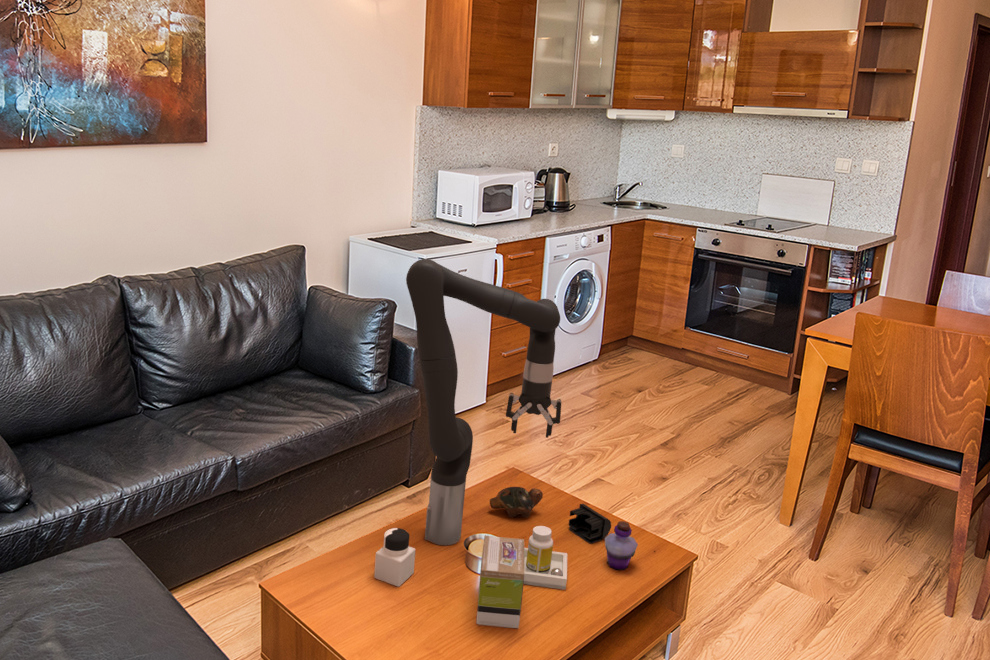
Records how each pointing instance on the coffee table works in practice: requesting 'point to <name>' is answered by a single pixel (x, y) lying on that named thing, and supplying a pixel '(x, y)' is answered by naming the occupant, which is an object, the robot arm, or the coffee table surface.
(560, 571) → the steel ball
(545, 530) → the pill bottle
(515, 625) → the tea box
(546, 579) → the tray
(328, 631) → the coffee table surface
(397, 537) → the medicine bottle
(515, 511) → the decorative turtle
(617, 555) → the potion bottle
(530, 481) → the coffee table surface
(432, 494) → the robot arm
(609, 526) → the end cap
